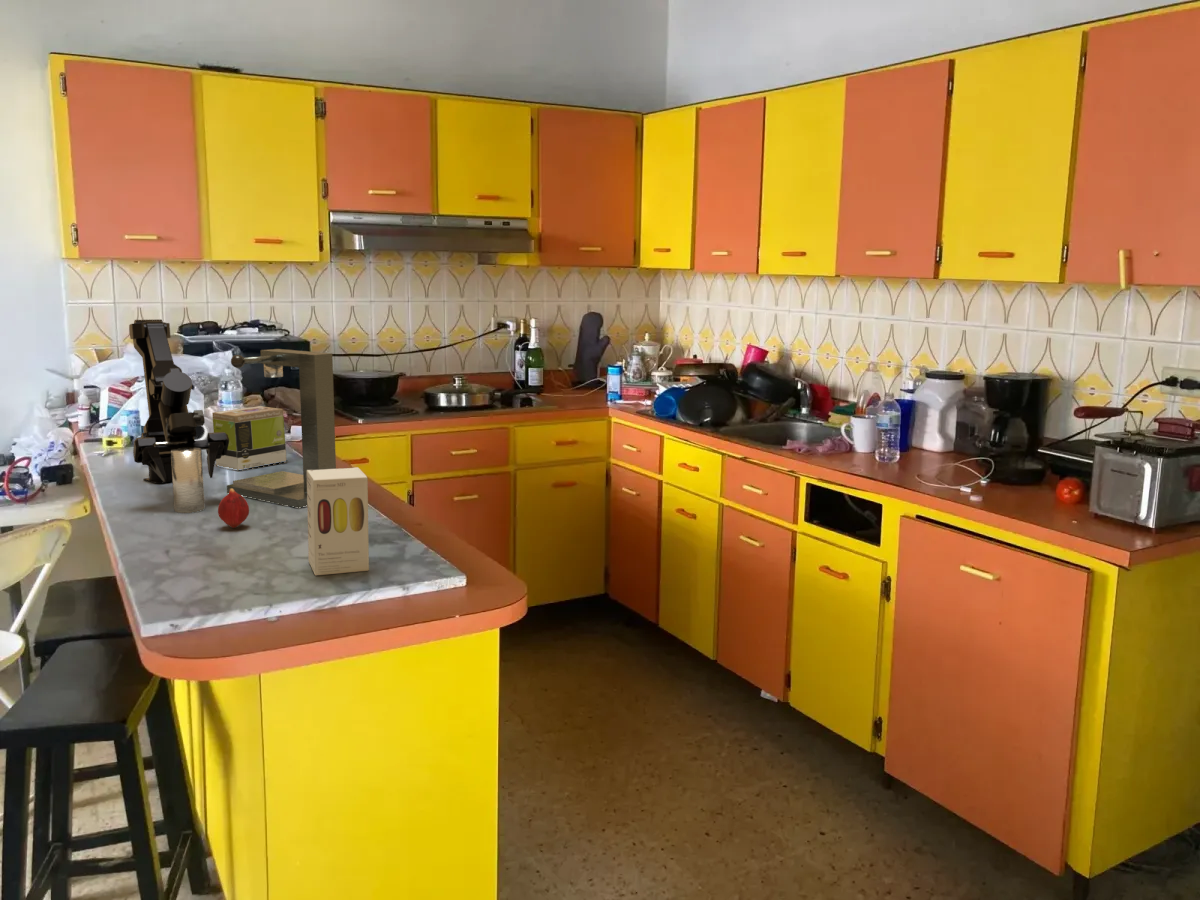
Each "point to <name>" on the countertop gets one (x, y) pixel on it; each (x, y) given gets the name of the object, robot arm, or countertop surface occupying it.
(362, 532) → the supplement box
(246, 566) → the countertop surface
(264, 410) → the tea box
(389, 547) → the countertop surface
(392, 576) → the countertop surface
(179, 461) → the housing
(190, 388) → the robot arm
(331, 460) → the arbor press
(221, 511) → the onion
